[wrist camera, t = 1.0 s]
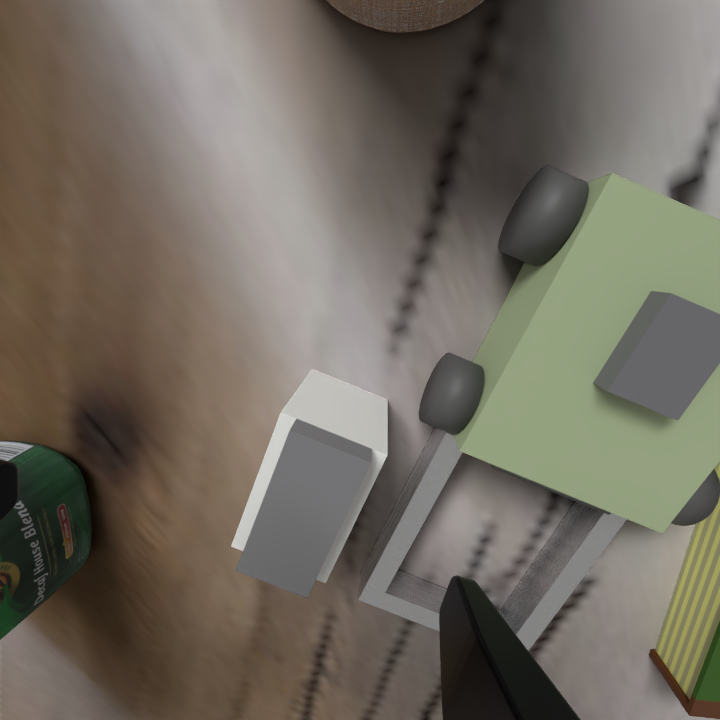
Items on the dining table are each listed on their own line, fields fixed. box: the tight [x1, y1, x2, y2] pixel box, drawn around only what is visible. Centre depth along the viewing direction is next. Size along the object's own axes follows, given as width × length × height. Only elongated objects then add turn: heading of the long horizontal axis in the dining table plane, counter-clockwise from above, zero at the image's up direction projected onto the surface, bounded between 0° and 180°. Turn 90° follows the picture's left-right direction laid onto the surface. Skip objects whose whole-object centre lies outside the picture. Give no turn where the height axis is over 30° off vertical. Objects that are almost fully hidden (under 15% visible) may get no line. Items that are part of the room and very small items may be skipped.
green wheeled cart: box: [419, 165, 720, 533], centre depth 16 cm, size 13×12×5 cm
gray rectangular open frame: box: [358, 427, 627, 651], centre depth 21 cm, size 10×12×2 cm
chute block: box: [231, 369, 388, 598], centre depth 17 cm, size 4×7×7 cm, turn 158°
